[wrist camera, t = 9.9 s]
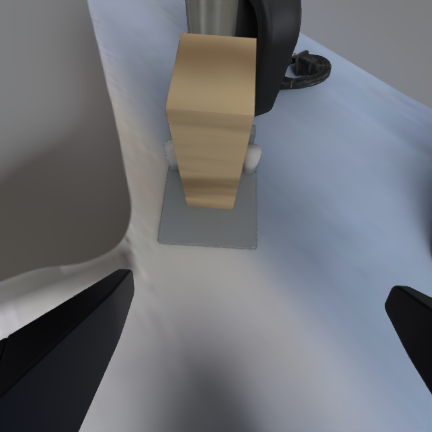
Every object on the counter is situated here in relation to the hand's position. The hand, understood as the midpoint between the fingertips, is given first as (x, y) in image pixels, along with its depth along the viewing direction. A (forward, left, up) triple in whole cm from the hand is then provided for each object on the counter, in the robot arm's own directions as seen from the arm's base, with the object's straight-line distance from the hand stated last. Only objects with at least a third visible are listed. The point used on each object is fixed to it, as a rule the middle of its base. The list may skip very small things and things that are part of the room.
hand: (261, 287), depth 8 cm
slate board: (+10, +5, -14) cm, 17 cm away
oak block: (+10, +5, -13) cm, 17 cm away
